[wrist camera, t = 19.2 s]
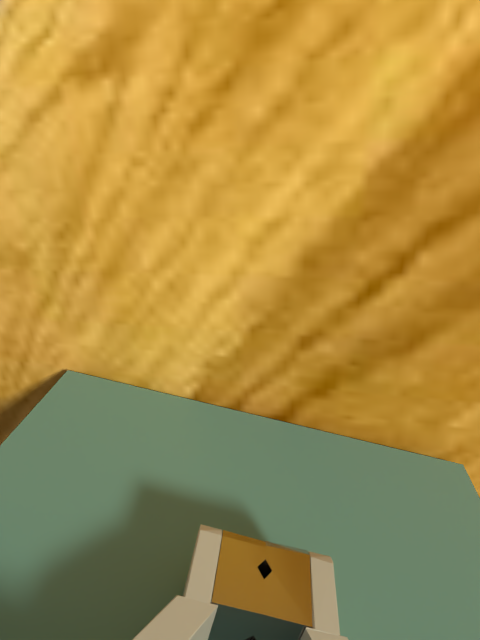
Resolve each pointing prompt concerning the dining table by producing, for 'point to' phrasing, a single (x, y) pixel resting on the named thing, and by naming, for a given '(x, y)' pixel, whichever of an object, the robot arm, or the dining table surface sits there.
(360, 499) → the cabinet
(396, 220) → the dining table surface
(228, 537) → the robot arm
